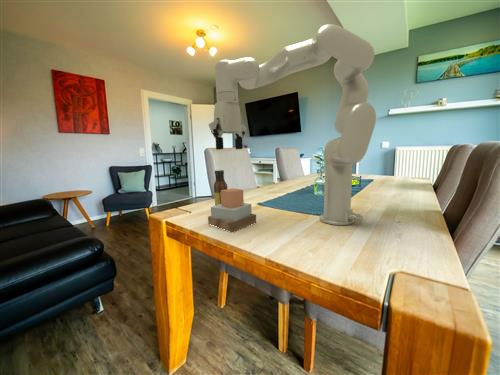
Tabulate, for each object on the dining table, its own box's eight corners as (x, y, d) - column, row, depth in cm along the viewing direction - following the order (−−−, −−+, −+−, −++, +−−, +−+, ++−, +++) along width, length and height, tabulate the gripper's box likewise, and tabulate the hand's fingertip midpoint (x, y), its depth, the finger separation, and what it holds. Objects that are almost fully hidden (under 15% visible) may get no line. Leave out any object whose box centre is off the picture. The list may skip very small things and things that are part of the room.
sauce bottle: (230, 211, 101) (229, 169, 98) (228, 215, 95) (226, 170, 92) (217, 211, 102) (214, 169, 99) (213, 215, 96) (211, 170, 93)
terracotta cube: (243, 205, 82) (243, 189, 81) (231, 208, 78) (230, 192, 77) (233, 203, 87) (233, 188, 86) (221, 205, 83) (220, 190, 82)
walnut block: (256, 224, 85) (256, 214, 84) (232, 234, 75) (231, 223, 74) (232, 218, 93) (232, 209, 92) (208, 226, 83) (208, 216, 83)
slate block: (251, 213, 85) (251, 203, 84) (235, 221, 76) (234, 210, 75) (229, 210, 91) (228, 201, 90) (211, 217, 82) (210, 207, 81)
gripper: (236, 105, 86) (238, 149, 88) (200, 98, 73) (204, 149, 75) (251, 101, 81) (252, 148, 83) (215, 93, 68) (218, 149, 71)
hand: (229, 149), depth 79 cm, fingers open, 9 cm apart
